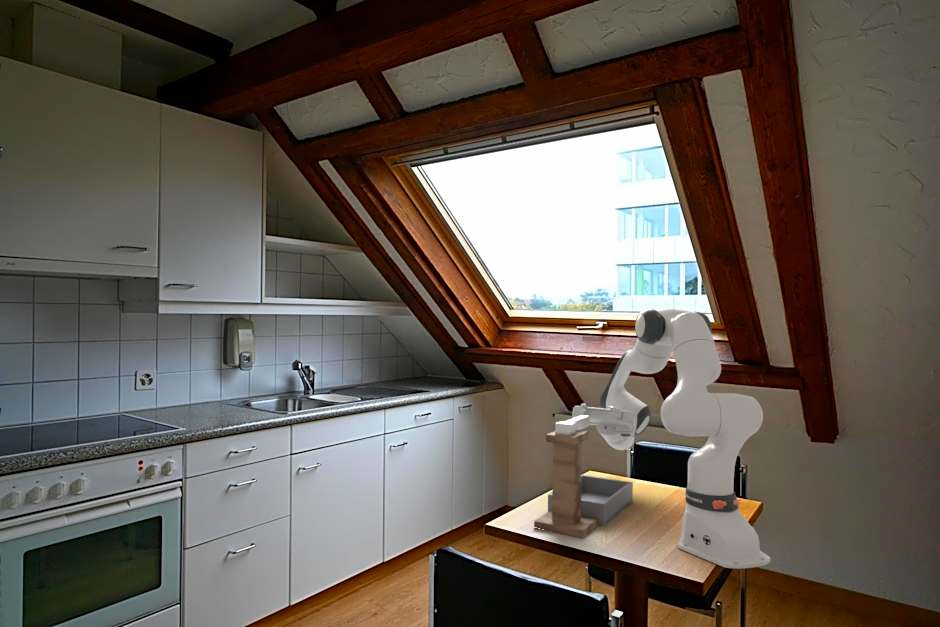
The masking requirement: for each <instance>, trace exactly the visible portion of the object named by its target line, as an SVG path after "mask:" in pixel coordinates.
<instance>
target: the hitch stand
mask: <svg viewBox="0 0 940 627" xmlns="http://www.w3.org/2000/svg"><path fill="white" fill-rule="evenodd" d="M545 436H546V437H545V442H546V443H552V492H553V493H552V492H551V493H552V510H551V511H549V512H548V511H547V512H546V513H544V514H543V515H541V516H539V517H538V518H537V519H535V520H534V522H533V528H534V527H537V528H540V529H544V530H547V531H546V532H549V531H551V533H556V534H559V533H560V534H561V535H564V534H565V536H569V537H573V536H575V537H574V538H578V537H580V539H584V538H585V537H586V536H587V535H588V534H590V533H591V532H592V531H594V529H596V528H597V527H598V526H599V525H598V518H594V517H589V516H584V515H581V475H582V462H583V461H582V459H583V458H582V457H583V456H582V454H583V453H582V450H583V449H582V448H583V447H582V446H583V442H584V441H586V440H589V430H579V431H576V434H574V435H571V436H567V435H558V434H555V430H553V431H552V432H549V433H547V434H545ZM595 527H596V528H595ZM540 529H539V530H540ZM544 530H543V531H544ZM589 532H590V533H589ZM583 537H584V538H583Z"/></svg>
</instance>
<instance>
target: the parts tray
mask: <svg viewBox="0 0 940 627" xmlns="http://www.w3.org/2000/svg"><path fill="white" fill-rule="evenodd" d="M633 487H634V482H633V481H627V480H626V481H625V480H620V479H619V480H618V479H612V478H605V477H599V476H593V475H585V474H581V515H584V516H589V517H594V518H598V526H602V525H604V526H605V524H606V523H607V522H608V523H609V522H610V521H611V520H613V519H614V518H615V517H616V516H617V515H619V514H620V513H621V512H622V511H623V510H624V509H625V508H627V507H628V506H629V505H630V504H631V503H632V502H634V500H633V497H634V496H633V495H634V494H633V493H634V492H633V490H634V488H633ZM552 493H553V491H552V492H550V493H548V494H547V512H549V511H551V510H552ZM627 505H628V506H627ZM626 506H627V507H626ZM621 510H622V511H621ZM620 511H621V512H620ZM619 512H620V513H619ZM615 515H616V516H615ZM614 516H615V517H614ZM613 517H614V518H613ZM612 518H613V519H612ZM608 523H607V524H608ZM607 524H606V525H607Z"/></svg>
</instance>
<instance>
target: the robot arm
mask: <svg viewBox="0 0 940 627" xmlns="http://www.w3.org/2000/svg"><path fill="white" fill-rule="evenodd" d="M634 326H635V327H634V328H635V329H634V330H635V334H636V335H635V336H636V337H637V338H636V341H635V344H634V347H633V348H632V349H629V350H627V351H624V353H623V354H622V355H621V356H620V358H619V360H618V361H617V364H616V365H615V368H614V370H613V372H612V374H611V376H610V378H609V380H608V382H607V384H606V385H605V387H604V388H603V389H602V392H601V393H600V395H599V397H598V398H599V406H600V407H592V406H588V405H587V404H586V403H581V404H580V405H574V407H572V414H571V416H572V418H575V417H578V416H580V415H585V416H589V426H595V428H596V430H597V431H598V433H599V434H600V435H601V437H602V438H604V440H605V441H606V443H607V444H608V445H610V447H611V448H614V449H615V450H619V451H625V450H628V449H630V447H632V445H633V443H634V441H635V437H637V436H639V435H641V434H642V433H643V432H644V431H645V430H646V429H647V428H648V427H649V425H650V423H651V419H652V418H651V417H652V416H651V415H652V414H651V412H652V411H651V407H650V406H648V405H647V404H646V403H644V402H643V401H641V400H640V399H639V398H637V397H635V396H634V395H632V394H631V393H630V392H628V391H627V390H626V388H625V386H624V385H625V384H626V382H627V380H628V378H629V376H630V374H631V372H635V373H638V374H642V375H644V374H645V375H652V374H657V373H659V372H660V371H662V370H663V369H664V368H665V367H666V365H667V364H668V362H669V358H670V356H671V352H673V353H672V354H673V356H674V361H675V366H676V372H677V383H676V387H675V388H674V390H673V391H672V392H671V394H670V395H668V396H667V397H666V398H665V400H664V401H663V403H662V404H661V407H660V419H661V420H660V421H661V423H662V425H663V426H664V428H665V429H666V430H667V431H668V432H669V433H670V434H675V435H680V436H684V437H708V439H707V441H706V443H705V444H703V446H702V447H701V448H700V449H697V450H695V451H694V452H693V453H691V454H690V456H689V458H688V459H687V460H688V461H687V486H686V487H685V493H684V494H685V502H686V506H685V510H684V513H683V517H682V525H681V531H680V532H681V534H680V539H679V541H678V542H677V548H678V549H680V550H681V551H685V552H687V553H689V554H692V555H694V556H696V557H698V558H701V559H703V560H706V561H708V562H711V563H713V564H715V565H718V566H720V567H722V568H725V569H726V568H727V569H736V570H737V569H751V568H758V567H763V566H765V565H769V564H770V563H771V561H772V560H771V557H770V556H769V555H768V554H766V553H764V552H763V551H761V549H760V548H761V547H760V539H759V535H758V533H757V532H756V530H755V528H754V527H753V526H751V524H750V523H749V522H748V520H747V519H746V517H744V515H743V514H742V512H741V511H740V510H739V508H740V507H739V505H741V504H742V503H741V502H742V499H738V498H737V496H736V492H735V491H734V478H735V466H736V462H737V457H738V455H739V452H740V451H741V449H742V447H743V446H744V444H745V443H746V442H747V441H748V439H749V438H750V437H751V436H752V435H754V434H755V433H757V432H758V431H759V430H760V428H761V427H762V424H763V420H764V412H763V408H762V406H761V404H760V402H759V401H758V400H757V399H756V398H754V396H750V395H746V394H741V393H734V392H726V393H725V392H724V393H723V392H716V393H715V392H709V391H708V389H707V386H710V385H711V384H712V383H714V382H716V381H717V379H719V377H720V375H721V372H722V363H721V361H720V357H719V353H718V351H717V347H716V343H715V340H714V337H713V334H712V328H713V327H712V323H711V320H710V318H709V316H708V315H707V314H704V313H702V312H698V311H689V310H683V309H682V310H681V309H675V308H658V309H655V308H647V309H643V310H641V311H640V312H639V313H638V314H637V316H636V318H635V325H634Z"/></svg>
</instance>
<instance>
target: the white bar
mask: <svg viewBox="0 0 940 627" xmlns="http://www.w3.org/2000/svg"><path fill="white" fill-rule="evenodd" d="M554 426H555V427H554V428H555V429H554V431H555V434H558V435H567V436H571V435H574V434H576V431H579V430H580V431H582V430H583V429H585V428H588V427H589V426H590V425H589V416H585V415H580V416H578V417H575V418H573V417H572V418H570V419H567V420H564V421H563V420H561V421H557V422H555V424H554Z"/></svg>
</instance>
